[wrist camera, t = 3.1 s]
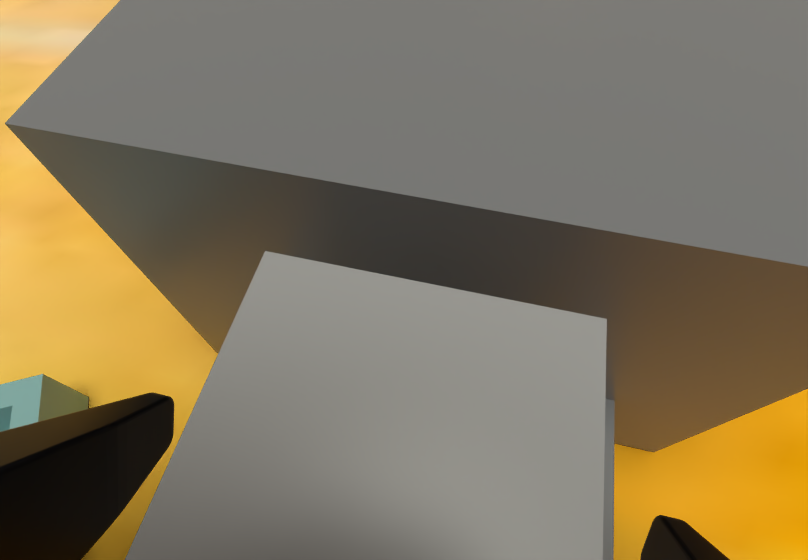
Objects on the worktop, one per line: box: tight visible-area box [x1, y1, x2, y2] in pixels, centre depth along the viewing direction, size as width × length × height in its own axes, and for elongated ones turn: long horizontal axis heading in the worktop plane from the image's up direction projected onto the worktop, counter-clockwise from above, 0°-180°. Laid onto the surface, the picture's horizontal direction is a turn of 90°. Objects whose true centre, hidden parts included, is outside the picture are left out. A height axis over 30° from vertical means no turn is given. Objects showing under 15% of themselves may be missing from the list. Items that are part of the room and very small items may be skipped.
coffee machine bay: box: [5, 0, 808, 560], centre depth 12 cm, size 17×16×11 cm
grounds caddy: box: [125, 251, 607, 560], centre depth 10 cm, size 5×5×11 cm
